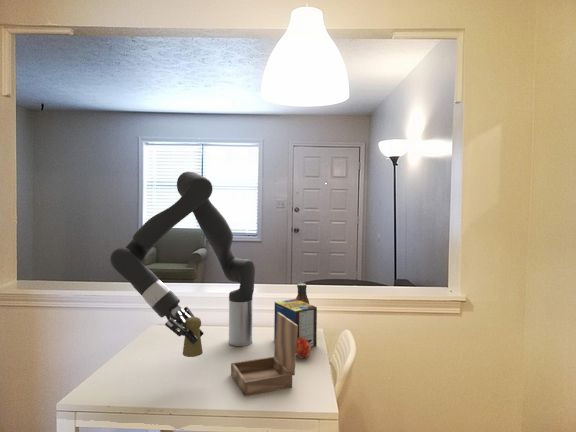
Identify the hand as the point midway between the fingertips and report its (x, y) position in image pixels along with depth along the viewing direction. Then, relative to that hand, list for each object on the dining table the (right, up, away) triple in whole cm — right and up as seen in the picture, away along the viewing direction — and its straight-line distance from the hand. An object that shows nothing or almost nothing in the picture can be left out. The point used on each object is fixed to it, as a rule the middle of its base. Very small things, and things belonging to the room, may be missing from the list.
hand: (198, 338), depth 126 cm
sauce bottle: (+34, -12, +54) cm, 65 cm away
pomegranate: (+32, -14, +23) cm, 42 cm away
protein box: (+30, -13, +37) cm, 50 cm away
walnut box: (+19, -14, +3) cm, 24 cm away
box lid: (+26, -3, +6) cm, 27 cm away
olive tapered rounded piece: (-2, -5, 0) cm, 5 cm away
